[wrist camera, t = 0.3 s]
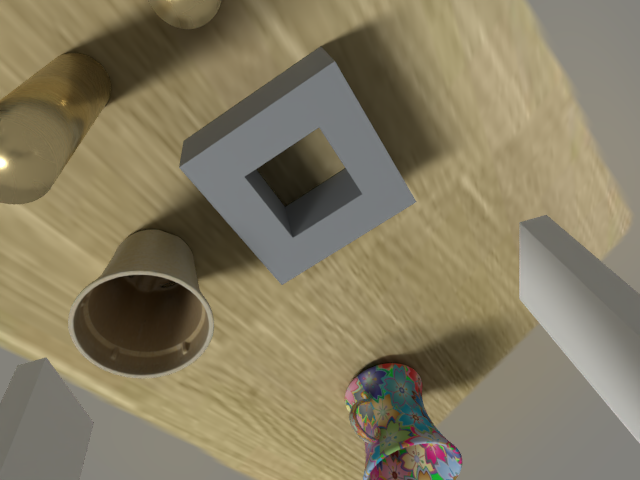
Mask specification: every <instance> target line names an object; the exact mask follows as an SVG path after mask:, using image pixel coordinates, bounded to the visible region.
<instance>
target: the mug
mask: <svg viewBox="0 0 640 480" xmlns="http://www.w3.org/2000/svg"><path fill="white" fill-rule="evenodd" d="M345 405H346V408H347V410H348V411H349V413H350V423H351V426H352V428H353V430H354V431H355V433H356V434H357V435H358V436H359V437H360V438H361V439H362V440H363V441H365V450H366V462H365V471H364V476H363V480H455V479H456V478H457V477H458V475H459V473H460V471H461V467H462V457H461V454H460V452H459V450H458V449H457V448H456V447H455V446H454V445H453V444H452V443H451V442H449V441H448V440H447V439H446V438H445V437H444V436H443V435H442V434H441V433H440V432H439V431H438V430H437V428H436V427H435V426H434V424H433V423H432V421H431V420H430V418H429V416H428V414H427V412H426V410H425V408H424V405H423V401H422V380H421V378H420V376H419V375H418V373H417V372H416V371H415V370H414V369H412V368H410V367H408V366H406V365H403V364H397V363H386V364H381V365H377V366H374V367H371V368H369V369H367V370H365V371H363V372H362V373H360V374H359V375H358V376H357V377H356V378H355V379H354V380H353V381H352V382H351V383H350V385H349V386H348V388H347V391H346V394H345Z"/></svg>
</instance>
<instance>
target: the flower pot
mask: <svg viewBox="0 0 640 480" xmlns="http://www.w3.org/2000/svg"><path fill="white" fill-rule="evenodd" d="M129 275H133V276H132V277H130V276H129ZM172 281H174V282H176V283H175V284H174V285H172V286H169V287H161V285H165V284H168V283H171V282H172ZM68 328H69V333H70V336H71V338H72V341H73V343H74V344H75V346H76V347H77V349H78V350H79V351H80V353H81V354H82V355H83V356H84V357H85V358H86V359H88V360H89V361H90V362H91V363H93V364H94V365H95V366H98V367H99V368H101V369H103V370H105V371H108V372H110V373H113V374H116V375H120V376H124V377H131V378H140V379H141V378H155V377H161V376H164V375H168V374H169V375H170V374H172V373H174V372H177V371H179V370H181V369H183V368H185V367H187V366H189V365H190V364H192V363H193V362H194V361H196V360H197V359H198V358H199V357H200V356H201V355H202V354H203V353H204V352H205V350H206V349H207V347H208V345H209V343H210V341H211V339H212V336H213V331H214V320H213V314H212V310H211V308H210V306H209V304H208V302H207V300H206V299H205V297H204V296H203V295H202V293H201V292H200V289H199V284H198V280H197V275H196V269H195V264H194V258H193V254H192V252H191V250H190V248H189V247H188V245H187V244H186V243H185V242H184V241H183V240H182V239H181V238H179V237H178V236H175V235H172V234H169V233H166V232H163V231H161V230H144V231H139V232H137V233H134V234H132V235H130V236H129V237H127V238H126V239H125V240H124V241H123V242H122V243H121V244H120V245H119V247H118V248H117V250H116V252H115V254H114V256H113V257H112V259H111V261H110V262H109V264H108V265H107V267H106V269H105V270H104V272H103V273H102V275H101V276H100V277H99V278H98V279H96V280H95V281H93V282H92V283H90V284H89V285H88V286H86V287H85V288H84V289H83V290H82V291H81V292H80V294H79V295H78V296H77V298H76V299H75V301H74V303H73V305H72V307H71V310H70V313H69V319H68Z"/></svg>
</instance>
